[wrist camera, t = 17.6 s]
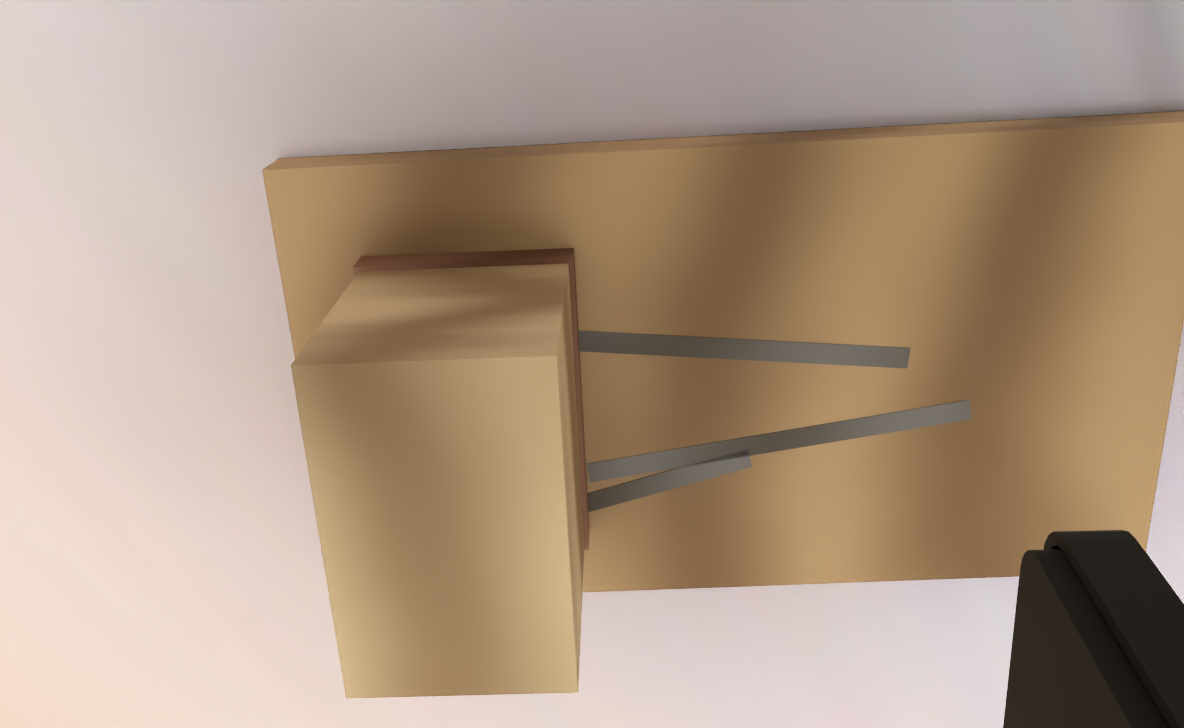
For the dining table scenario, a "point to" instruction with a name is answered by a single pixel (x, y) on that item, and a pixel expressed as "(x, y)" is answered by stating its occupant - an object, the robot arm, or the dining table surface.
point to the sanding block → (451, 472)
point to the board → (818, 330)
